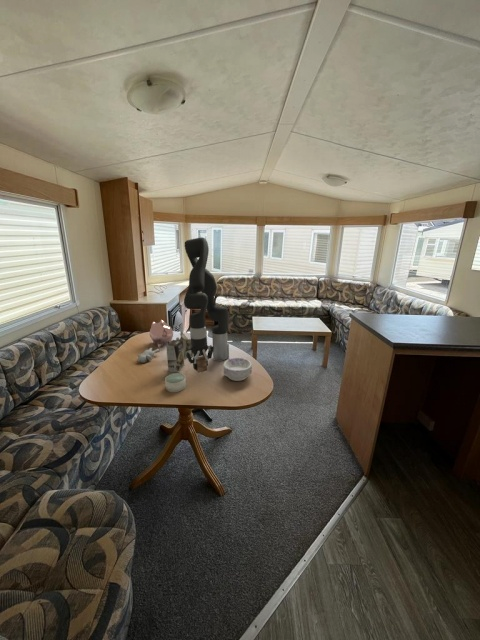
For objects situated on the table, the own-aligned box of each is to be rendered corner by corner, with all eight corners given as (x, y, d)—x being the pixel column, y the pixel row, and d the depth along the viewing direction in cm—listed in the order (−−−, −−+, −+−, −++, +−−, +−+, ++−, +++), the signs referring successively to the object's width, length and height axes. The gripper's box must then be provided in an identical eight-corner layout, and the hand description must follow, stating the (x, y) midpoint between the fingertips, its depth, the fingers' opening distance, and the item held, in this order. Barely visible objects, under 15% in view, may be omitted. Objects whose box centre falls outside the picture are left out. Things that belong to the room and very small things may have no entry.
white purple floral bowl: (227, 386, 132) (226, 372, 130) (221, 372, 146) (220, 359, 144) (255, 381, 136) (255, 368, 134) (247, 368, 150) (247, 356, 148)
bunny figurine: (132, 356, 157) (148, 344, 170) (134, 364, 159) (149, 351, 172) (145, 358, 154) (160, 346, 167) (147, 366, 156) (161, 353, 169)
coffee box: (178, 372, 146) (176, 346, 141) (168, 371, 147) (165, 345, 142) (185, 365, 154) (183, 340, 150) (175, 364, 156) (172, 339, 151)
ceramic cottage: (170, 357, 164) (169, 335, 160) (182, 348, 179) (183, 328, 175) (192, 362, 160) (192, 339, 156) (203, 352, 175) (204, 331, 171)
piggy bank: (166, 337, 199) (165, 317, 194) (177, 344, 186) (176, 323, 181) (147, 342, 189) (144, 321, 185) (157, 349, 176) (154, 327, 171)
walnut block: (203, 366, 129) (202, 355, 127) (207, 370, 125) (206, 359, 124) (194, 369, 127) (194, 357, 125) (198, 373, 123) (197, 361, 121)
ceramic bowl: (182, 379, 139) (181, 371, 137) (188, 388, 130) (188, 379, 129) (163, 384, 134) (162, 375, 132) (168, 394, 126) (167, 384, 124)
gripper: (209, 330, 127) (211, 361, 132) (181, 335, 120) (184, 368, 126) (216, 334, 121) (217, 367, 126) (186, 341, 114) (189, 375, 120)
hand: (200, 368), depth 126 cm, fingers closed on walnut block, 4 cm apart
